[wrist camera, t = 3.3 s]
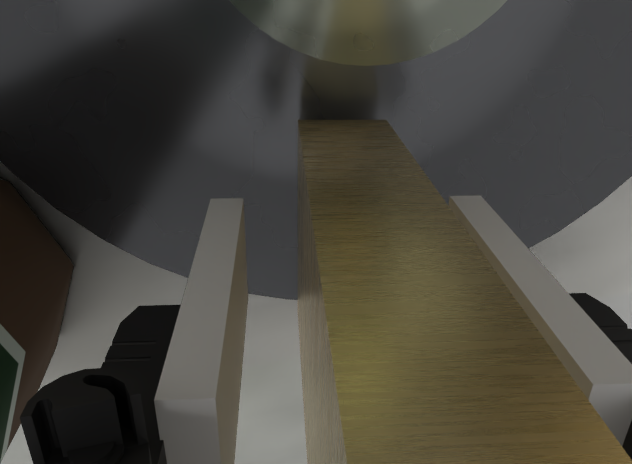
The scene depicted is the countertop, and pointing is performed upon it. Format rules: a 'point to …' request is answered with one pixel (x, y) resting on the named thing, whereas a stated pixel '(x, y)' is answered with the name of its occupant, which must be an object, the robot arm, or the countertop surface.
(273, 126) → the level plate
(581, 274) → the countertop surface
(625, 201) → the countertop surface
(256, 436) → the countertop surface
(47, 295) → the beer bottle
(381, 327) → the tan rectangular block
